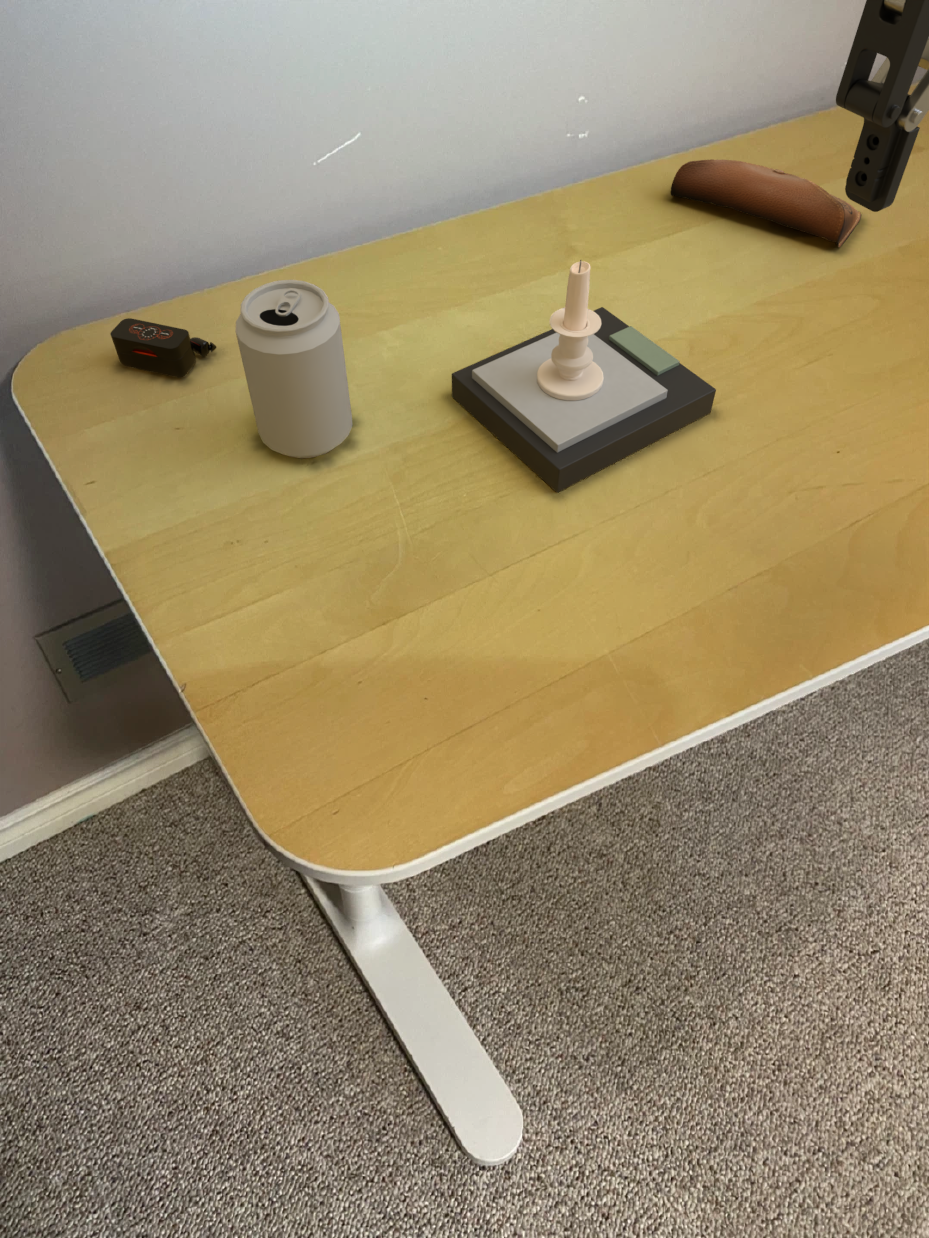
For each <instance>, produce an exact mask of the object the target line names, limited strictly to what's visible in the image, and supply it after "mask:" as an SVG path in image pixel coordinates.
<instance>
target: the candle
mask: <svg viewBox="0 0 929 1238" xmlns="http://www.w3.org/2000/svg"><path fill="white" fill-rule="evenodd" d="M590 278H591V264H590V263H589V262H588V261H585V260H583V261H582V259H580V260H579V261H577V262H574V263H573V264H571V266H570V268H569V273H568V278H567V285H566V292H565V293H566V295H565V305H564V307H561V308H558V309H556V310H555V311H553V312H552V314H551V315H550V316H549V320H548V321H549V326H550V328H551V329H553V330H554V331H555V332H557V333H558V334H560V337H559V345H557V346H556V347H555V348H554V349H553V350H552V353H551V358H550V359H548V360H547V361H545V362H544V363H543V364H542V365H541V366H540V367H539V369H538V372H537V382H538V385H539V387H540V388H541V389H542V390H543V391H544V392H545V393H547V394H548V395H550V396H552V397H554V398H557V399H561V400H567V401H576V400H582V399H586V398H588V397H591V396H593V395H594V394H596V393H597V392H598V391H599V390H600V388H601V387H602V384H603V379H604V378H603V372H602V370H601V368H600V367H599V366H598V365H597V364H596V363H595V362H593V361H592V360H593V353H592V351H591V349H590V348H588V347H587V345H588V336H590V335H593V334H594V333H596V332H597V331H598V330H599V329H600V327H601V319H600V317H599V315H597V314H596V313H595V312H594V310H592V309H590V308H589V295H590V281H591V279H590Z"/></svg>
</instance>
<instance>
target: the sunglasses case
mask: <svg viewBox="0 0 929 1238" xmlns="http://www.w3.org/2000/svg"><path fill="white" fill-rule="evenodd" d="M670 196H671V197H675V196H676V197H679V198H683V199H688V200H691V201H696V202H700V203H704V204H713V205H714V206H716V207H723V208H729V209H733V210H735V211H737V212H739V213H743V214H746V215H748V216H749V215H750V216H752V217H754V218H758V219H763V220H767V221H771V222H773V223H775V224H778V225H781V226H783V227H785V228H790V229H794V230H796V231H800V232H803V233H806V234H810V235H812V236H816V237H819V238H822V239H824V240H826V241H829V242H833V243H835V246H837V247H838V249H839V248H841V247H842V246H843V244H845V242H846V241H847V239H848V238H849V237H850V235H851V234H852V233H853V231H854V230H855V228H856V227H857V226H858V224H859V223H860V221H861V219H862V213H861V211H859V210H858V209H856V208H855V207H854V206H853V205H852V204H850V203H849V202H847V201H845V200H843V199H841V198H840V197H837V196H835V195H833V194H831V193H829V192H828V191H827V190H825V189H824V188H823V187H821V186H820V185H818V184H817V183H815V182H813V181H811V180H809V179H807V178H805V177H800V176H799V175H796V174H792V173H787V172H785V171H784V170H782V169H778V168H772V167H768V166H764V165H761V164H756V163H752V162H747V161H742V160H734V159H733V160H732V159H700V160H699V159H698V160H690V161H688V162H685V163H684V164H682V165H681V166H680V167H679V168H678V169H677V171H676V173H675V175H674V177H673V180H672V183H671V186H670Z"/></svg>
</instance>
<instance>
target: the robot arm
mask: <svg viewBox="0 0 929 1238" xmlns="http://www.w3.org/2000/svg"><path fill="white" fill-rule="evenodd" d="M878 54H879V55H880V56H883V57H886V58H885V59H884V61H883V62H882V64H881V65H880V67H879V68H878V70H877V72H876V73H875V74H874V76H873V77H872V79H871V80H869V79H870V76H871V73H872V70H873V68H874V64H875V61H876V58H877V55H878ZM918 67H919V68H921V69H924V70H926V72H925V73H924V74H923V76H922V77H921V79H920V80H919V82H918V83H917V85H916V86H915V88H914V89H913V90H912V92H911V93H910V94H909V92H910V89H911V86H912V84H913V81H914V78H915V75H916V73H917V70H918ZM835 104H836V106H837V107H840V108H842V109H844V110H846V111H848V112H851V113H852V114H855V115H856V116H859V117H861V118H863V124H862V128H861V130H860V134H859V138H858V141H857V144H856V147H855V150H854V153H853V158H852V161H851V164H850V168H849V169H848V172H847V173H848V174H847V175H846V176H847V177H846V179H845V187H844V192H845V195H846V197H847V198H848V199H849V201H852V202H854V203H855V204H858V205H859V206H862V207H863V208H865V209H867V210H869V211H871V212H874V213H877V212H880V211H883V210H885V209H886V208H887V209H888V208H889V207H890V206H892V205H893V203H894V202H895V200H896V196H897V193H898V190H899V188H900V185H901V182H902V179H903V176H904V174H905V171H906V168H907V166H908V162H909V160H910V157H911V154H912V151H913V149H914V146H915V144H916V139H917V137H918V134H919V132H920V129H921V127H920V126H919V125H920V124H921V122H922V121H923V119H924V118H925V116H926V115H927V113H928V112H929V0H865V4H864V7H863V10H862V13H861V16H860V19H859V23H858V25H857V28H856V32H855V36H854V37H853V41H852V45H851V48H850V50H849V54H848V57H847V60H846V63H845V67H844V70H843V74H842V76H841V79H840V83H839V86H838V88H837V92H836V96H835Z"/></svg>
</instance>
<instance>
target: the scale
mask: <svg viewBox="0 0 929 1238" xmlns="http://www.w3.org/2000/svg"><path fill="white" fill-rule="evenodd" d="M593 311H594V312H595V313H596V314H597V315H599V317H600V319H601V327H600V329H599V330H598V331H597V332H596V333H594V334H593V335H590V336H588V345H587V347H588V348H590V349H591V351H592V353H593V360H592V361H593V362H595V363H596V364H597V365H598V366H599V367H600V368H601V370H602V372H603V378H604V379H603V384H602V387H601V388H600V390H599V391H598V392H597V393H596V394H594V395H593V396H591V397H588V398H586V399H582V400H576V401H567V400H561V399H557V398H554V397H552V396H550V395H548V394H547V393H545V392H544V391H543V390H542V389H541V388H540V387H539V385H538V382H537V372H538V369H539V367H540V366H541V365H542V364H543V363H544V362H545V361H547V360H548V359H550V358H551V353H552V350H553V349H554V348H555V347H556V346H557V345H559V337H560V334H558V333H557V332H555V331H554V330H553V329H552V328H551V329H549V330H547V331H544V332H542V333H540V334H537V335H536V336H533V337H531V338H529V339H526V340H524V341H522V342H520V343H518V344H515V345H513V346H510V347H508V348H506V349H503V350H501V351H500V352H497V353H494V354H493V355H490V356H488V357H486V358H484V359H481V360H479V361H477V362H475V363H472V364H470V365H468V366H465V367H463V368H460V369H459V370H456V371H454V372H452V373H451V397H452V399H453V400H455V401H456V402H457V403H458V404H459V405H460V406H461V407H463V408H464V409H465V411H467V412H468V413H469V414H470V415H471V416H472V417H473V418H474V419H476V420H477V421H478V422H479V423H480V424H481V425H482V426H483V427H484V428H485V429H487V430H488V431H489V432H490V434H492V435H493V436H494V437H495V438H497V440H499V442H500V443H502V444H503V445H504V446H505V447H507V449H508V450H510V451H511V452H512V453H513V454H514V455H515V456H516V457H517V458H518V459H519V460H520V461H521V462H523V463H524V464H525V465H526V466H527V468H529V469H530V470H532V471H533V473H535V474H536V475H537V476H538V477H539V478H540V479H541V480H542V481H544V483H546V484H547V485H548V486H549V487H550V488H551V489H552V490H553V491H554V492H555V493H559V492H561V491H563V490H566V489H567V488H570V487H571V486H573V485H575V484H577V483H578V482H581V481H582V480H584V479H586V478H589V477H590V476H592V475H594V474H596V473H598V472H600V471H602V470H604V469H606V468H607V467H609V466H611V465H613V464H616V463H617V462H619V461H621V460H623V459H624V458H626V457H628V456H631V455H632V454H634V453H636V452H638V451H640V450H643V449H644V448H645V447H648V446H649V445H651V444H653V443H655V442H657V441H659V440H661V439H663V438H665V437H667V436H669V435H670V434H673V433H674V432H677V431H678V430H681V429H683V428H684V427H686V426H688V425H689V424H692V423H693V422H696V421H697V420H700V419H701V418H703V417H705V416H707V415H709V414H711V412H712V409H713V404H714V400H715V397H716V392H717V388H715V387H713V386H712V385H711V384H710V383H708V382H707V381H706V380H704V379H703V378H701V377H700V376H698V375H697V374H696V373H694V372H693V371H692V370H690V369H689V368H687V366H685V365H683V364H682V363H681V360H679V359H678V358H676V357H675V356H673V355H672V354H671V353H669V352H668V351H667V350H665V349H664V348H663V347H661V346H660V345H658V344H657V343H656V342H654V341H653V340H651V339H650V338H649V337H648V336H646V335H644V334H643V333H642V332H640V331H639V330H638V329H636V328H635V327H633V326H631V325H628V324H627V323H626V322H624V321H623V320H621V319H620V318H619V317H617V316H616V315H615V314H613V313H611V312H610V311H609V310H607V308H605V307H603V306H601V307H598V308H596V309H594V310H593Z"/></svg>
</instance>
